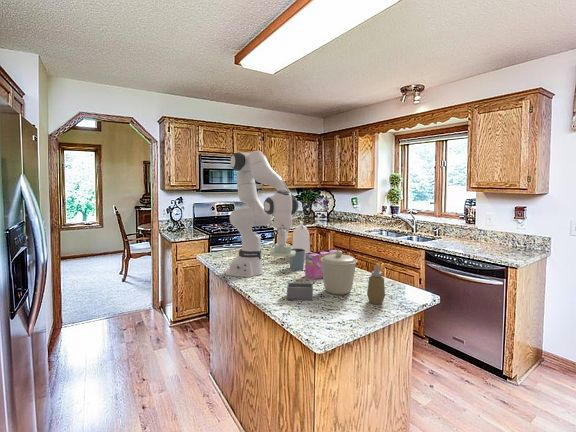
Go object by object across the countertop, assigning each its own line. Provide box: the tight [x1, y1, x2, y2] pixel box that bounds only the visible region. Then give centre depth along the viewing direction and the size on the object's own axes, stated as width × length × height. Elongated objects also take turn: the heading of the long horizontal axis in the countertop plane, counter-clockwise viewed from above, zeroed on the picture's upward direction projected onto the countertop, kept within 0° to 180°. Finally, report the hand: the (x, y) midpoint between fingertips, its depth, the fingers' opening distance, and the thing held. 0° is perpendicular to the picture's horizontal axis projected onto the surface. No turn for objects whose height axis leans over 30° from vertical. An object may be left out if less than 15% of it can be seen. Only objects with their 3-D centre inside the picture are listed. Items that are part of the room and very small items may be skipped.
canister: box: [321, 249, 358, 296], centre depth 168 cm, size 18×18×21 cm
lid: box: [268, 245, 296, 258], centre depth 168 cm, size 13×8×5 cm, turn 87°
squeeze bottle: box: [366, 263, 386, 305], centre depth 154 cm, size 8×8×18 cm
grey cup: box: [289, 248, 305, 271], centre depth 212 cm, size 10×10×12 cm
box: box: [286, 282, 314, 301], centre depth 160 cm, size 12×7×6 cm, turn 87°
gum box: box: [304, 248, 338, 280], centre depth 199 cm, size 24×8×14 cm, turn 126°
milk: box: [291, 220, 311, 260], centre depth 240 cm, size 12×12×26 cm
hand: (282, 250), depth 168 cm, fingers closed on lid, 3 cm apart
